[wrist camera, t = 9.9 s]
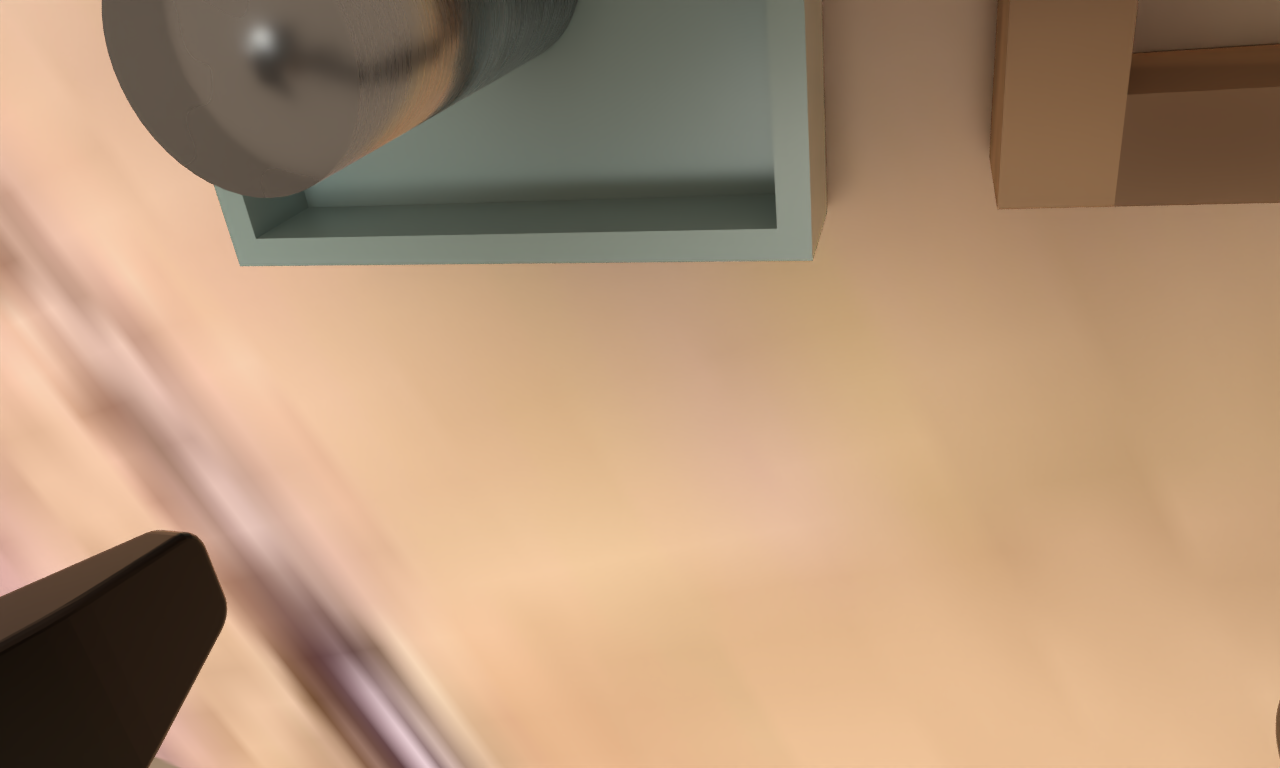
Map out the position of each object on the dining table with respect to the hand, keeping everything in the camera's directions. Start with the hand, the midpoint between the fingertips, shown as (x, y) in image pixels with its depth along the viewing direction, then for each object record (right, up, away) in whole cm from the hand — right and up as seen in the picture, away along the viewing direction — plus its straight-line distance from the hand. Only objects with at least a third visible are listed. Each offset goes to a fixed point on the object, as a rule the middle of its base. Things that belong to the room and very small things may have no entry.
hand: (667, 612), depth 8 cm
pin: (-3, +10, +10) cm, 14 cm away
